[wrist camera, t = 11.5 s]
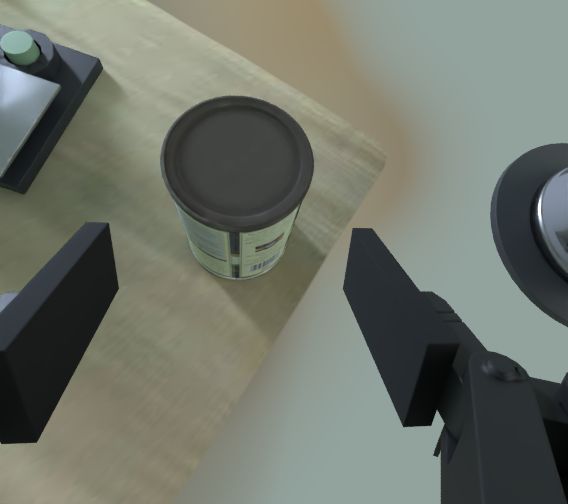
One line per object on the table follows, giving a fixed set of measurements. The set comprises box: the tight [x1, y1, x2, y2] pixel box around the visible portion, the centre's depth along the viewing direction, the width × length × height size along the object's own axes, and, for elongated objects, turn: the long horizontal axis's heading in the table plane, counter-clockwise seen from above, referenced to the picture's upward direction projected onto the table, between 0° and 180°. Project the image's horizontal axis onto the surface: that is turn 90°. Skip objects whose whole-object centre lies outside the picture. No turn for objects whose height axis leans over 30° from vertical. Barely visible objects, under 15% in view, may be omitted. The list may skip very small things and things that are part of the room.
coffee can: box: [160, 96, 314, 280], centre depth 32 cm, size 10×10×14 cm
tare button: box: [0, 31, 40, 66], centre depth 39 cm, size 3×3×2 cm
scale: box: [0, 25, 103, 194], centre depth 39 cm, size 12×17×3 cm
